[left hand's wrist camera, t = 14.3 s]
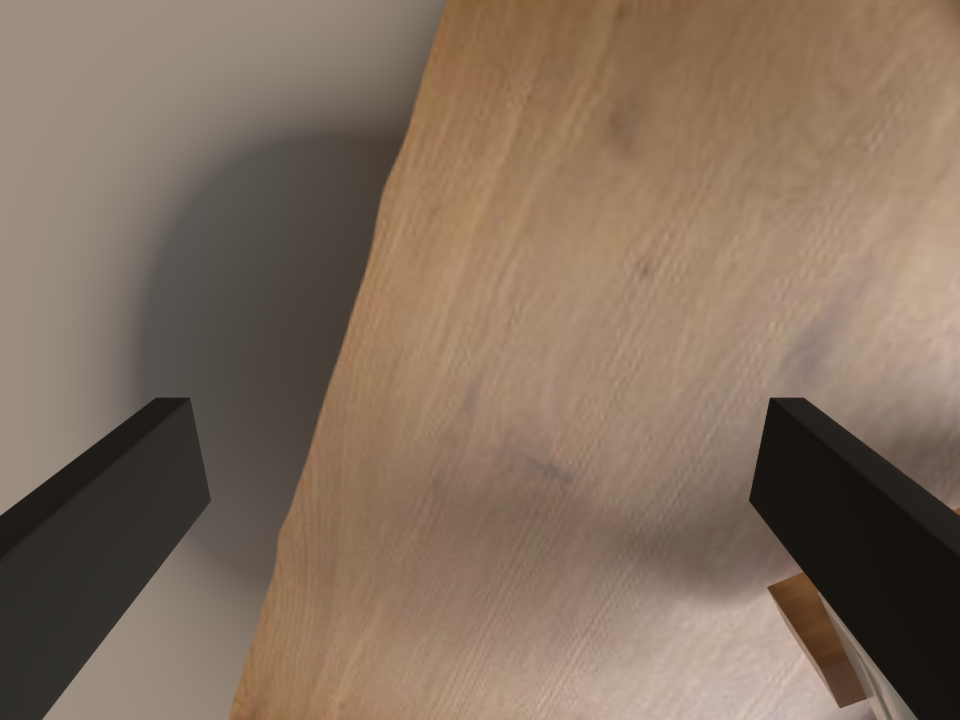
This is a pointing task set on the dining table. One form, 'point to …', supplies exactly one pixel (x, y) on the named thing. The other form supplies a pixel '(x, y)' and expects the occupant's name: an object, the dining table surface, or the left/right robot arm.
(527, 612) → the dining table surface
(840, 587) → the left robot arm
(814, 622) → the bar
